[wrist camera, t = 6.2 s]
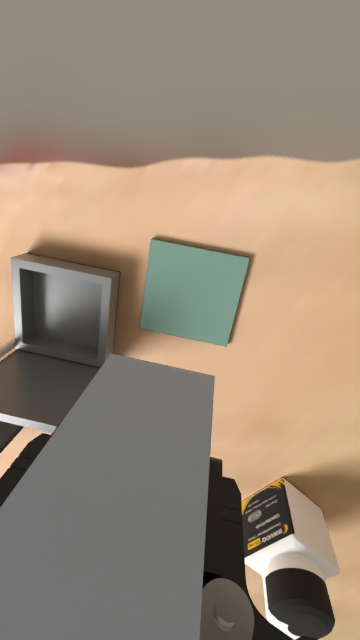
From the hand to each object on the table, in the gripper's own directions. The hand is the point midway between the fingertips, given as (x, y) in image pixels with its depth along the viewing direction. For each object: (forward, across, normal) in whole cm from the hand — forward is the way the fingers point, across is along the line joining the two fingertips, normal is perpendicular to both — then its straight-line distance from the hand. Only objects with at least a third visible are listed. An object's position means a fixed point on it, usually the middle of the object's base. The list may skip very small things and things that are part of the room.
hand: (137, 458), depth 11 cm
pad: (+20, 0, 0) cm, 20 cm away
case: (+20, +12, +4) cm, 24 cm away
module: (+3, 0, 0) cm, 3 cm away
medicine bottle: (+20, -16, +25) cm, 36 cm away
